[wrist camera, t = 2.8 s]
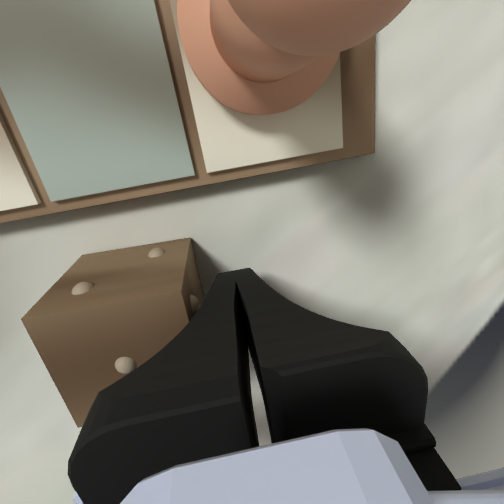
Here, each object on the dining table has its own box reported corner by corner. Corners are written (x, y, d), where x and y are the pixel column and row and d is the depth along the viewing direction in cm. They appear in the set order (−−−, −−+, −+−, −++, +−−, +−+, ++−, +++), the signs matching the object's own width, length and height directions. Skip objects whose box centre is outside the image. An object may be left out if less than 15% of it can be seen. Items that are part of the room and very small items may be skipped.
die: (214, 322, 13) (215, 405, 9) (115, 340, 13) (75, 433, 9) (194, 231, 11) (186, 287, 8) (80, 250, 11) (12, 317, 7)
